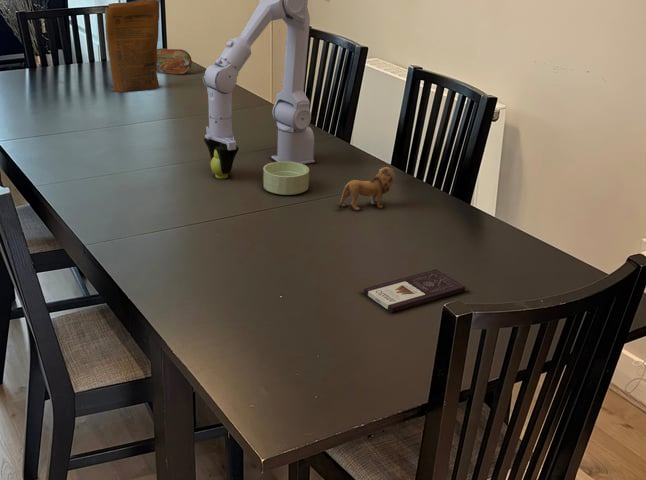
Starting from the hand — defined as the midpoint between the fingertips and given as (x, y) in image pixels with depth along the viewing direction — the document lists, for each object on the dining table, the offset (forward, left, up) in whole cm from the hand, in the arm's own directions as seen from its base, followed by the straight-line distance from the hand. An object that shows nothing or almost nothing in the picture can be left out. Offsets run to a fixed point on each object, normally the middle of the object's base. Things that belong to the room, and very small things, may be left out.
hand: (221, 169), depth 213 cm
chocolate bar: (-9, +75, -2) cm, 76 cm away
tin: (-26, -107, -2) cm, 110 cm away
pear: (0, 0, -2) cm, 2 cm away
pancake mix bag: (-7, -89, -2) cm, 89 cm away
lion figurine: (-24, +32, -2) cm, 40 cm away
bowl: (-12, +14, -2) cm, 18 cm away
